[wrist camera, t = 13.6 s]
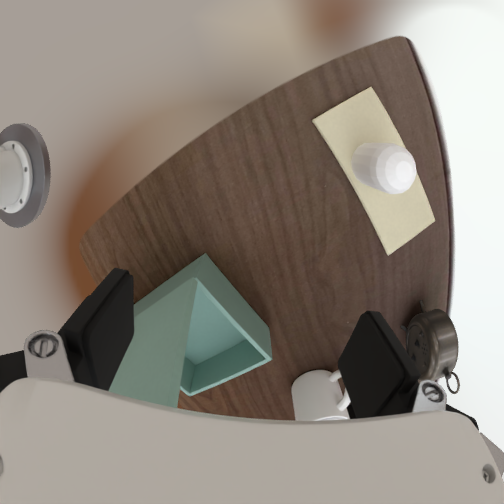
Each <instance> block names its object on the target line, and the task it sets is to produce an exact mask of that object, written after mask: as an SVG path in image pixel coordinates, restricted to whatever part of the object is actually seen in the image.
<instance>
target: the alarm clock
mask: <svg viewBox="0 0 504 504" xmlns="http://www.w3.org/2000/svg"><path fill="white" fill-rule="evenodd" d="M419 302H420V304H421V311H422V313H421V314H417V315H415V316H414V317H413V318H412V319H411V321H410V323H409V325H408V328H406V327H405V326H403V325H401V326H400V327H401V328H402V329H403V330H405V331H406V352H407V353H408V355H409V356H410V358H411V359H412V361H413V362H414V364H415V366H416V367H417V369H418V370H419V372H420V374H421V377H420V378H419V380H420V381H423V380H432V381H434V380H437V379H439V378H442V377H444V376H445V378H446V382H447V387H448V389H449V391H450V392H451V393H453V394H456V393H457V392H458V391H459V387H460V383H459V379H458V377H457V375H456V374H455V373H453V372H452V371H453V369H454V367H455V365H456V362H457V357H458V338H457V334H456V330H455V328H454V325H453V323H452V321H451V319H450V318H449V316H448V315H447V314H446V313H445V312H444V311H442V310H440V309H434V310H432V311H428V312H426V310H425V307H424V305H423V301H422V300H420V301H419ZM451 374H453V375H454V376H455V377H456V380H457V383H458V388H457V391H456V392H454V391H452V390H451V389H450V387H449V384H448V379H450V378H451Z"/></svg>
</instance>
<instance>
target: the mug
mask: <svg viewBox="0 0 504 504" xmlns="http://www.w3.org/2000/svg"><path fill="white" fill-rule="evenodd" d="M340 377H342V376H341V374H340V371H339V370H337V371H335V372H333V373H331V372H329V371H326V370H314V371H310V372H307V373H305V374H303V375H301V376H300V377H298V378H297V379H296V380H295V381H294V383H293V385H292V399H293V405H294V412H295V419H296V421H321V420H346V419H350V417H349V414H348V411H347V408H346V407H347V406H348V405H349V403H350V402H351V401H350V398H349V396H348V393H347V390H346V387H345V393H344V396H343V395H342V392H341V389H340V386H339V383H338V379H339V378H340Z"/></svg>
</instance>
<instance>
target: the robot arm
mask: <svg viewBox="0 0 504 504" xmlns="http://www.w3.org/2000/svg"><path fill="white" fill-rule="evenodd" d="M32 181H33V172H32V164H31V160H30V156H29V154H28V152H27V150H26V148H25V147H24V145H22V144H21V143H20V142H18V141H8V142H5V143H4V144H2V145H1V146H0V209H2V210H4V211H5V212H7V213H15V212H18V211H20V210H21V209H22V208H23V207H24V206H25V205H26V203H27V201H28V199H29V197H30V193H31V189H32ZM133 336H134V302H133V276H132V275H130V274H129V271H128V270H123V269H119V268H114V269H113V270H112V271H111V272H110V273H109V274H108V275H107V277H106V278H105V279H104V280H103V281H102V282H101V283H100V285H99V286H98V287H97V288H96V289H95V291H93V293H92V294H91V295H89V296H88V297H86V299H85V300H84V301H83V302H82V303H81V305H80V306H79V307H78V308H77V309H76V311H75V312H74V313H73V314H72V316H71V317H70V318H69V319H68V321H67V322H66V323H65V324H64V326H63V327H62V328H61V329H60V331H59V332H58V333H56V332H54V331H50V330H40V331H37V332H34V333H33V334H31V335H30V336H29V337H28V338H27V339H26V341H25V343H24V350H22V351H18V352H14V353H10V354H6V355H1V356H0V504H504V482H503V479H502V475H503V472H504V453H503V452H502V450H500V449H499V448H498V447H497V446H496V445H495V444H494V443H492V442H491V441H490V440H489V439H488V438H487V437H485V436H484V435H483V434H482V433H479V429H478V425H477V422H476V420H475V419H474V418H472V417H470V416H468V415H466V414H464V413H462V412H460V411H459V410H457V409H455V408H453V407H451V406H449V405H448V404H446V401H447V395H446V393H445V390H444V389H443V388H442V387H441V386H440V385H439V384H438V383H436V382H434V381H432V380H423V381H422V382H420V384H419V383H418V379H419V378H420V377H421V374H420V372H419V370H418V369H417V367H416V366H415V364H414V362H413V361H412V359H411V358H410V356H409V355H408V353H407V352H406V350H405V349H404V347H403V346H402V344H401V343H400V341H399V340H398V338H397V337H396V335H395V334H394V332H393V331H392V329H391V328H390V326H389V325H388V323H387V322H386V320H385V319H384V318H383V316H382V315H381V313H380V312H375V311H366V312H365V313H364V314H362V315H361V316H360V318H359V320H358V323H357V325H356V327H355V329H354V331H353V333H352V335H351V337H350V339H349V341H348V343H347V345H346V347H345V349H344V351H343V353H342V355H341V356H340V358H339V361H338V368H339V371H340V374H341V376H342V379H343V382H344V385H345V387H346V390H347V393H348V396H349V398H350V401H351V404H352V407H353V410H354V413H355V416H356V418H357V419H346V420H321V421H290V420H266V419H252V418H241V417H232V416H223V415H215V414H208V413H201V412H195V411H189V410H184V409H178V408H174V407H169V406H164V405H160V404H155V403H151V402H147V401H142V400H138V399H134V398H130V397H127V396H123V395H119V394H116V393H112V392H109V389H110V386H111V384H112V382H113V379H114V377H115V375H116V373H117V371H118V368H119V366H120V364H121V362H122V360H123V357H124V355H125V353H126V351H127V349H128V347H129V345H130V343H131V341H132V339H133Z"/></svg>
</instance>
